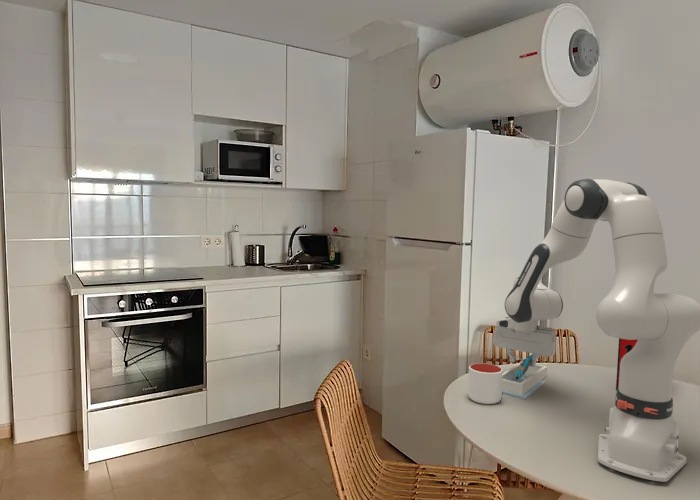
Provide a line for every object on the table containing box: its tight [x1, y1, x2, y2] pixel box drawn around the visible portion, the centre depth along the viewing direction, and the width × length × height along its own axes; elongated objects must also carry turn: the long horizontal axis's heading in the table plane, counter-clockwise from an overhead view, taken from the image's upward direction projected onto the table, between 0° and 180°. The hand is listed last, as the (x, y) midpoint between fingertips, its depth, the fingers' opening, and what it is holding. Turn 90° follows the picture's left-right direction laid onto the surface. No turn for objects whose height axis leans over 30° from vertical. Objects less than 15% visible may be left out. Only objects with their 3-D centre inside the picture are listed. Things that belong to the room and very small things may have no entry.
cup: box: [467, 362, 504, 405], centre depth 152 cm, size 10×10×10 cm
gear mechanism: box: [514, 353, 535, 380], centre depth 166 cm, size 20×5×9 cm, turn 145°
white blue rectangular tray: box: [502, 360, 548, 400], centre depth 166 cm, size 27×12×4 cm, turn 141°
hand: (522, 364), depth 166 cm, fingers closed on gear mechanism, 5 cm apart
